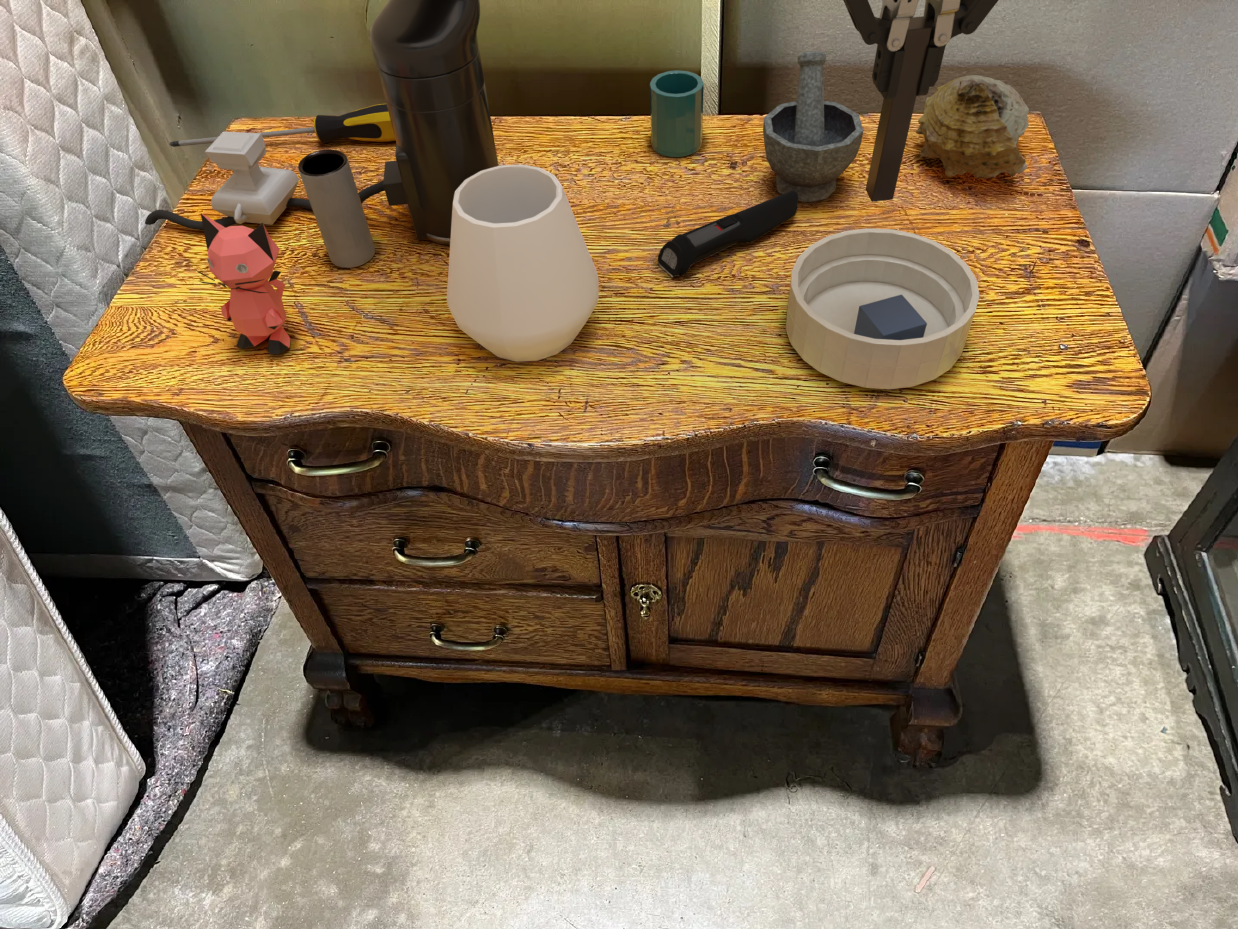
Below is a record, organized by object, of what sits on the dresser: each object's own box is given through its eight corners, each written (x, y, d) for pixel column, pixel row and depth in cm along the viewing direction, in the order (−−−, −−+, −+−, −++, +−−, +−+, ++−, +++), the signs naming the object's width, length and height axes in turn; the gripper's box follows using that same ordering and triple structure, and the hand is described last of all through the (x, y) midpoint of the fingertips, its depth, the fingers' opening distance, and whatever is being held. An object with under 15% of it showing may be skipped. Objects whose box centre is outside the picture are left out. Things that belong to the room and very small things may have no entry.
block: (875, 371, 76) (883, 335, 73) (851, 341, 78) (859, 305, 75) (917, 359, 76) (927, 323, 73) (893, 329, 79) (901, 293, 76)
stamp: (273, 242, 93) (242, 168, 86) (215, 235, 94) (181, 162, 88) (311, 192, 98) (286, 120, 92) (257, 187, 100) (227, 115, 93)
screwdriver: (428, 125, 106) (180, 149, 108) (420, 97, 103) (166, 123, 105) (424, 140, 103) (171, 165, 105) (416, 112, 101) (157, 138, 103)
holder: (655, 159, 99) (654, 98, 94) (648, 133, 103) (646, 73, 97) (706, 154, 99) (707, 93, 94) (697, 127, 103) (698, 67, 98)
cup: (615, 285, 86) (606, 151, 75) (586, 385, 77) (572, 250, 66) (478, 275, 88) (451, 143, 77) (436, 371, 79) (399, 238, 68)
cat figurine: (212, 353, 81) (167, 230, 73) (256, 313, 86) (219, 194, 78) (281, 367, 79) (243, 242, 71) (322, 325, 84) (291, 205, 76)
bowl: (809, 404, 74) (817, 354, 70) (768, 287, 84) (773, 238, 80) (990, 382, 75) (1008, 332, 71) (928, 269, 85) (941, 219, 81)
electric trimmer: (805, 226, 90) (809, 198, 88) (677, 282, 85) (677, 254, 83) (781, 208, 92) (784, 181, 90) (654, 262, 88) (654, 234, 85)
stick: (871, 202, 73) (907, 30, 63) (865, 189, 75) (899, 17, 64) (893, 199, 74) (932, 27, 63) (886, 187, 75) (924, 15, 64)
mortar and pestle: (858, 211, 91) (878, 97, 82) (764, 214, 92) (773, 101, 83) (842, 150, 98) (859, 40, 89) (755, 153, 99) (763, 43, 90)
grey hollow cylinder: (383, 244, 92) (356, 152, 84) (361, 271, 89) (331, 178, 81) (344, 237, 93) (314, 145, 85) (321, 264, 90) (287, 171, 82)
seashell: (997, 30, 93) (918, 94, 101) (966, 81, 84) (882, 147, 92) (1062, 113, 95) (980, 169, 103) (1038, 171, 86) (950, 229, 94)
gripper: (1044, -215, 56) (973, 59, 70) (827, -196, 56) (797, 77, 69) (1099, -179, 52) (1012, 108, 65) (863, -157, 51) (823, 128, 64)
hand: (901, 91), depth 67 cm, fingers closed on stick, 2 cm apart
